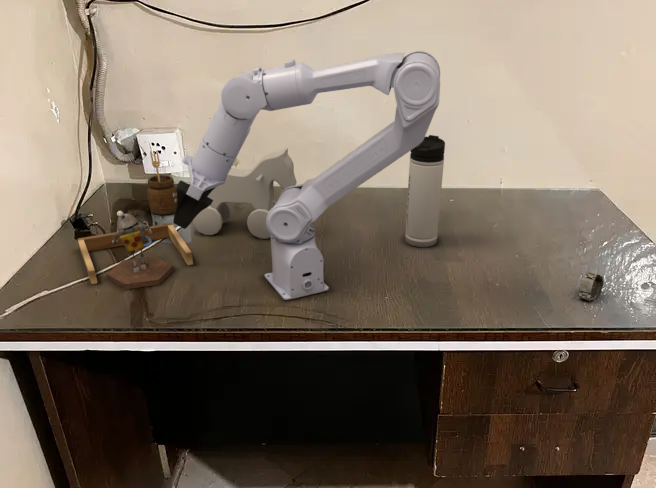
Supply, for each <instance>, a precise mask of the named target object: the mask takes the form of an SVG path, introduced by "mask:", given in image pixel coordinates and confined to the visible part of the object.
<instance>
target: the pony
mask: <svg viewBox="0 0 656 488" xmlns="http://www.w3.org/2000/svg"><path fill="white" fill-rule="evenodd" d="M293 161H294V160H293V159H292V158H291V156H290V155H289V148H288V147H284V148H283V149H282V150H279V151H274V152H269V153H267V154H265V155H264V156H263V157H262V158H261V159H260V160H259V162H258V163H257V164H256V165H255V166H253V167H252V168H249V169H241V168H234V167H231V169H230V171H229V173H228V175H227V179H226V181H225V183H224V184H223V185H220V186H217V187H216V188H215V189H214V190H213V191H212V192H211V193H210V194H209V195H208V196H207V197H209V198H210V199H212V200H213V202H212V204H211V205H210V206H209V207H207V208H205V209H204V210H202V211H201V212H200V213H199V214H198V215H197V216H196V217H195V218H194V220H193V221H192V222H191V224H192V225H193V228H194V229H195V230H196V231H197V232H198V233H200V234H202V235H205V236H213V235H215V234H218V233H219V232H220V231H221V230H222V228H223V224H224V223H226V222H228V220H229V219H230V218H231V213H232V209H231V207H230V204H238V205H239V204H240V205H243V204H244V205H245V204H246V205H251V207H252V208H253V209H254V210H252V211H251V213H250V214H249V215H248V216H247V219H246V226H247V228H248V231H249V232H250V233H251V234H252V235H253V236H254V237H256V238H258V239H263V240H264V239H265V240H266V239H269V238H270V239H271V236H270V232H269V231H268V228H267V225H266V218H267V215H268V213H269V211H270V210H271V209H272V208H273V207H274V205H275V204H276V202H277V201H278V200H274V197H275V187H274V182H276V183H277V184H278V186H279V187H280V188H281V189H282V191H283V190H284V189H286V188H288V187H290V186H297V179H296V178H297V177H296V174H295V170H294V169H295V167H294V166H295V165H294V162H293Z"/></svg>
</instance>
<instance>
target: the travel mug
mask: <svg viewBox="0 0 656 488" xmlns="http://www.w3.org/2000/svg"><path fill="white" fill-rule="evenodd" d="M445 148H446V142H445V140H443V139H442V138H440V137H439V135H433V134H429V135H428V136H425V138H424V140H423V141H422V142H421V143H420V144H419V145H418V146H416V147H415V148H414V149H412V150H411V151H410V154H409V167H408V180H407V181H408V183H407V196H406V197H407V199H406V216H405V231H404V233H405V234H404V240H405V241H404V242H406V243H407V244H408V245H410V246H412V247H416V248H430V247H432V246H434V245H436V244H437V243H438V232H439V220H440V211H441V210H440V209H441V208H440V207H441V199H442V185H443V176H444V164H445V162H444V161H445V150H446V149H445Z"/></svg>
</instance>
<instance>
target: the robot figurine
mask: <svg viewBox="0 0 656 488" xmlns="http://www.w3.org/2000/svg"><path fill="white" fill-rule="evenodd" d="M139 216H141V214H140V213H139V212H138V211H137V210H134V214H132V213H124V211H122V210H118V211H116V217H118V218H117V220H113V219H111V221H110V222H111V225H110V226H114V225H116V232H117V233H114V232H113V233H114V240H113V241H112V243H114V244H116V243H117V237H118V236H119V237H120V241H121V242H122V244H123V248H125V250H126V251H127V252H130V254H132V258H130V259H123V260H121V261H120V262H119V263H117V265H115V266H114V267H113V268H112V269H111V270H109V271H108V272H107V273H106V277H107V280H109V281H110V282H112V283H114V284H116V285H117V286H119V287H120V288H122V289H124V290H131V289H138V288H144V287H145V288H146V287H153V286H154V287H155V286H160V285H161V284H162V283H163V282H164V281H165V280H166V279H167V278H168V277H169V276H170V275H171V274H172V273H173V272H174V270H175V269H174V265H173V264H171V263H170V262H167V261H165V260H163V259H162V258H160V257H158V256H156V255H155V256H145V257H144V253H143V249H144V248H147V247H149V246H151V245H152V243H153V242H152V241H153V240H152V241H151V239H150V238H149V237H148V236H144V235H143V230H147V231H148V232H149V234H150V235H152V232H151V230H150V229H151V228H150V225H149V224H148V221H147V220H146V221H145V220H143V224H141V221H139V220H138V218H137V217H139ZM145 239H147V240H148V241H147V242H146V243H145V241H144V240H145ZM137 250H139V251H140V253H141V254H140V257H138V258H136V257H135V255H134V254H135V252H136V251H137Z"/></svg>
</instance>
